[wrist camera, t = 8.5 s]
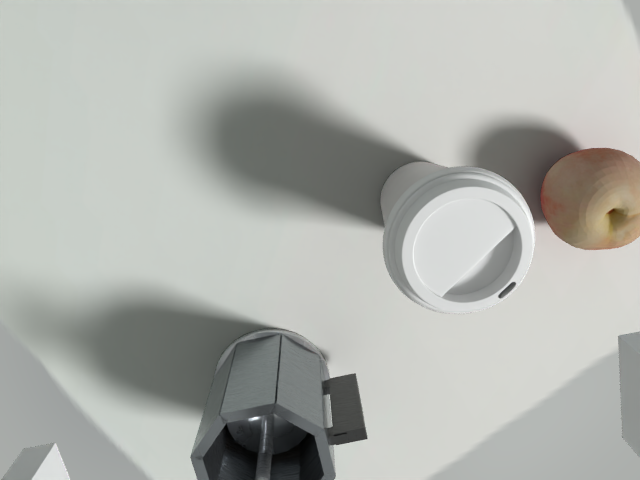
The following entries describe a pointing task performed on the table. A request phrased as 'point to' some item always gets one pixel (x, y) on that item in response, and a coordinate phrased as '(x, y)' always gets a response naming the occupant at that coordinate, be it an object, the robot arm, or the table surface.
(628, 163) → the fruit
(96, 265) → the table surface
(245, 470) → the press carafe
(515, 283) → the coffee cup
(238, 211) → the table surface
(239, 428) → the plunger
